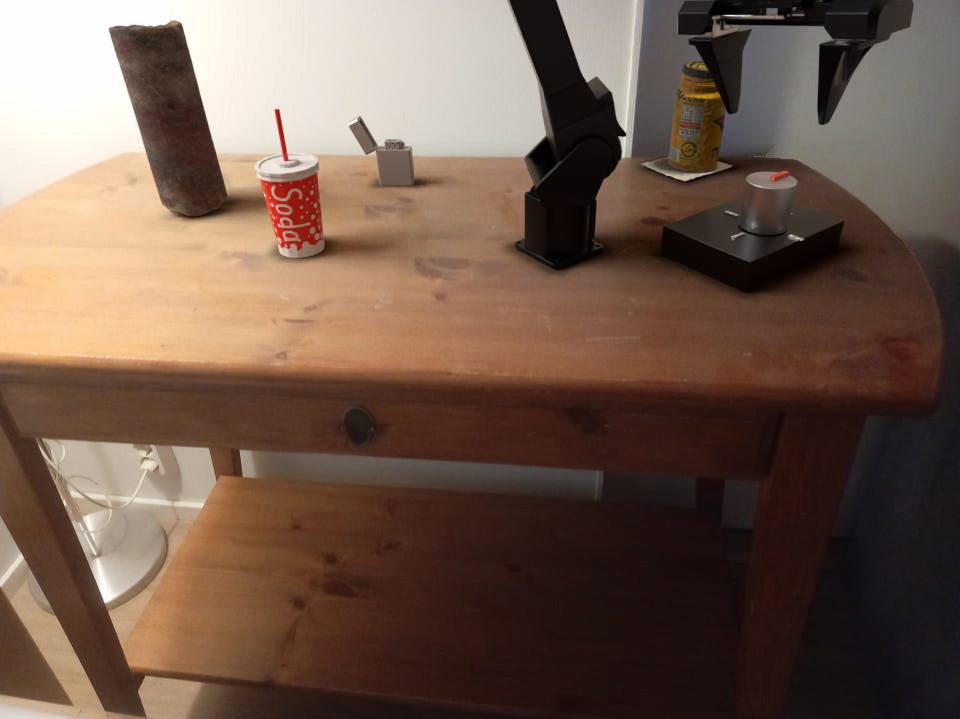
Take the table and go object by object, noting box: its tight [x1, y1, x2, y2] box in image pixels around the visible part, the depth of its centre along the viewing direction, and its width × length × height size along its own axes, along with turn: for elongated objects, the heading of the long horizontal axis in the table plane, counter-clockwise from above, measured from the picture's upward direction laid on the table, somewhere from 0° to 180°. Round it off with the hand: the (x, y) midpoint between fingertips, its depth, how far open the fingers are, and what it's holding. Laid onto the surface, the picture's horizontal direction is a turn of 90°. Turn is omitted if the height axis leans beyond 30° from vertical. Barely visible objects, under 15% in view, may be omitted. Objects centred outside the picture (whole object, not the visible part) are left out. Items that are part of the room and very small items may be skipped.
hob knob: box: [739, 170, 798, 235], centre depth 68 cm, size 4×4×5 cm
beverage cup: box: [254, 108, 326, 259], centre depth 72 cm, size 6×6×14 cm
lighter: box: [347, 115, 416, 186], centre depth 89 cm, size 7×2×8 cm, turn 85°
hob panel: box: [659, 195, 845, 293], centre depth 71 cm, size 14×10×3 cm
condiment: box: [642, 60, 733, 182], centre depth 89 cm, size 7×8×12 cm
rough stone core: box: [108, 19, 228, 217], centre depth 81 cm, size 8×7×20 cm
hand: (776, 118), depth 67 cm, fingers open, 9 cm apart
